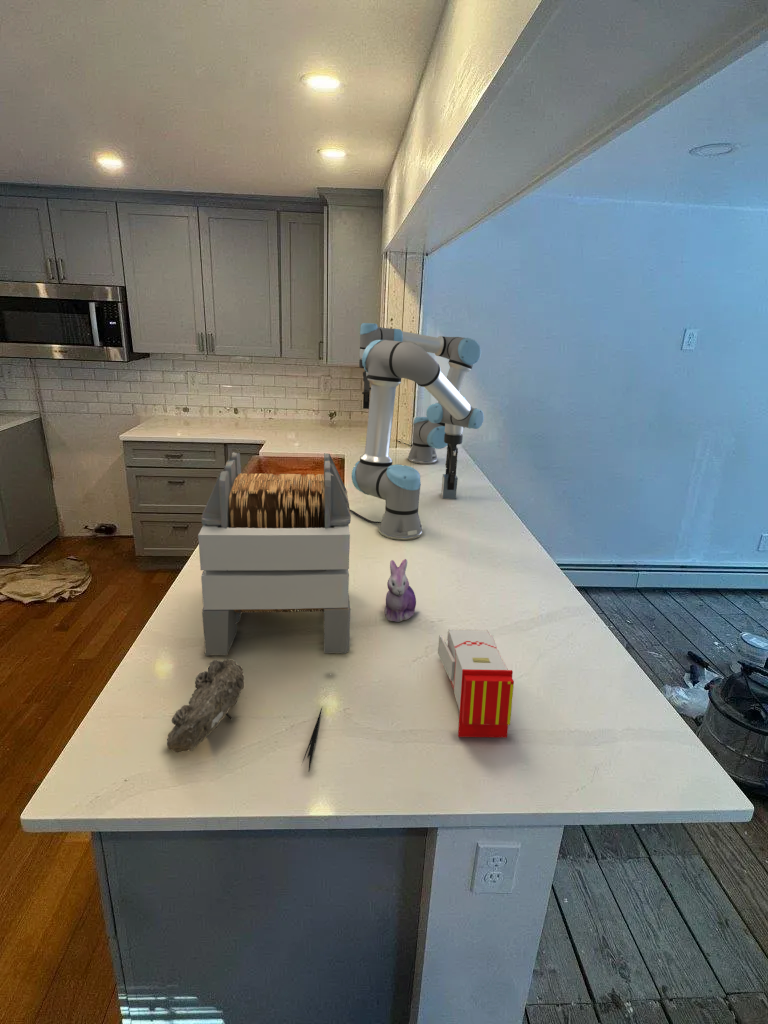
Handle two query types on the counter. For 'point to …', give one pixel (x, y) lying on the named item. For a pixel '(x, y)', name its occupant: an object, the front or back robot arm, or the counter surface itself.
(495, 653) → the toy
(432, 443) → the back robot arm
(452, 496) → the brick
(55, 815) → the counter surface
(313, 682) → the counter surface
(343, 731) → the counter surface
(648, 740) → the counter surface
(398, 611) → the figurine
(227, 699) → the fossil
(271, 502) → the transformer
